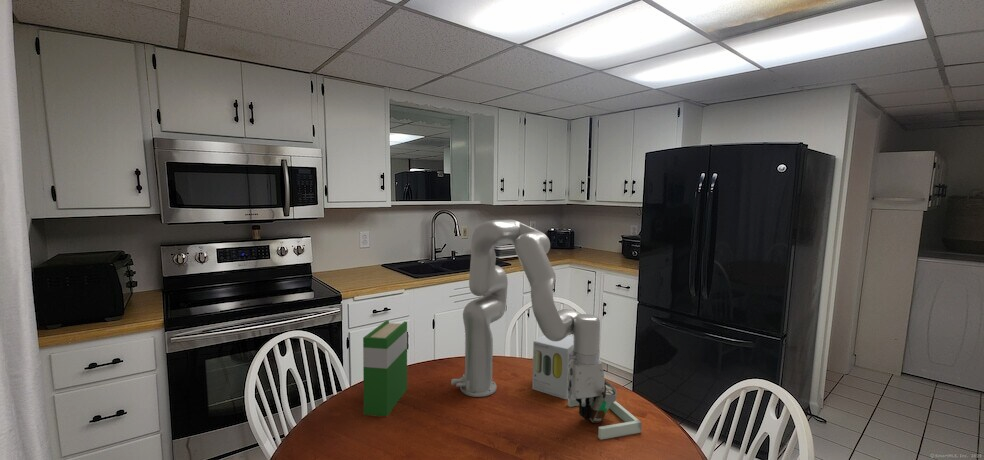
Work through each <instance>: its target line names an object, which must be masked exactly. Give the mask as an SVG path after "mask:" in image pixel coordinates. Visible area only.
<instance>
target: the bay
mask: <svg viewBox="0 0 984 460" xmlns="http://www.w3.org/2000/svg"><path fill="white" fill-rule="evenodd" d="M567 406H568V407H569V408H572V407H579V402H577V401H571V400H570V399H569V398H568V399H567ZM609 409H610V411H612V412H613V413H614V414H615V415H616V416H618V417H619V418H620V419H621V420H622V421H623V422H619V423H615V424H614V423H613V424H609V425H608V424H607V425H601V426H598V432H597V434H598V435H597V438H598V439H599V440H606V439H607V440H608V439H613V438H618V437H623V436H630V435H634V434H641V433H642V425H643V423H642V421H640V419H638V418H637V417H636V416H634V415H633V414H632V413H631V412H630V411H629V410H627V409H626V408H625V407H624V406H623V405H621V404H620V403H618V402H617V400H616V401H615V402H612V403H611V405H610V407H609Z"/></svg>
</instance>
